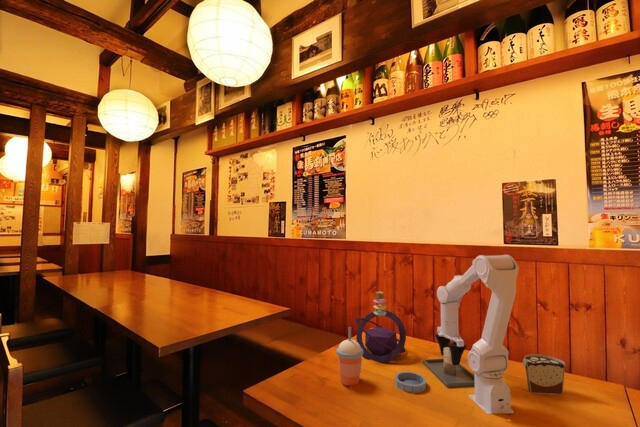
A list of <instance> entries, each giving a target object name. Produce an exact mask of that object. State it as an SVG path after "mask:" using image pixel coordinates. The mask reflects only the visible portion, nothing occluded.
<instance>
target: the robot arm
mask: <svg viewBox="0 0 640 427" xmlns="http://www.w3.org/2000/svg"><path fill="white" fill-rule="evenodd" d="M471 263H472V265H471V266H470V267H469V268H468V269H467V271H465V272H464V274H463V275H461V274H460V275H459V274H458V275H454V276H453V279H452V280H450V281H449V282H447V283H446V285H444V286H443V285H441V286H439V287H438V288H437V289H436V290H437V291H436V297H437V300H438V302H439V303H440V326H437V327H436V328H437V329H436V330H437V331H436V332H437V333H436V334H434V337H435V339H436V340H437V342H438V347H439V350H440V354H441V356H443V357H444V348H445V347H449V349H450V352H451V358H452V364H453V365H459V364H461V359H462V356H463V354H464V352H465V350H466V349H467V345H466V344H465V341H464V340H463V338H462V337H461V335H460V333H459V308H460V306H461V301H462V299H463V296H464V295H465V294H466V293H468V292H469V291H470V290H471V289H472V285H473V283H475V282H477V280H479V279H480V280H481V281H482V283H483V285H485V287H486V288H487V289H490V291H491V296H490V299H489V300H490V301H489V304H488V307H487V308H488V309H487V313H486V317H485V321H484V325H483V330H482V333H481V338H480V339H479V340H477V341H476V342H475V343H473V344H472V347H471V349H470V350H469V352H468V353H467V364H468V366H469V368H470V369H471V371H472V372H473V375H474V377H475V387H474V394H468V397H469V398H470V400H472V401H473V402H474V403H475V404H476V405H477V406H479V407H480V408H481V410H483V412H485V413H486V414H488V415H495V414H504V415H506V414H507V415H508V414H514V412H515V411H514V410H513V409H512V408H511V406H512V405H511V404H512V403H511V402H512V401H511V400H512V399H511V398H512V397H511V389H510V387H509V385H508V384H507V383H506V382H505V381H504V379H503V376H504V375H505V371H507V370H508V369H509V364H510V363H509V353H510V351H509V350H508V349H507V347H506V346H505V345H504V340H505V337H506V334H507V333H506V332H507V329H508V326H509V321H510V317H511V314H512V310H513V306H514V302H515V297H516V295H517V281H516V280H517V277H518V274H519V270H520V266H519V265H518V264H517V262H516V260H515V258H513V257H512V256H511V255H510V254H503V255H482V254H481V255H480V254H479V255H478V256H476V257H475V259H473V260H472V262H471ZM451 341H452V342H451Z"/></svg>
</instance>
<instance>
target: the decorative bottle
mask: <svg viewBox="0 0 640 427" xmlns="http://www.w3.org/2000/svg"><path fill="white" fill-rule="evenodd" d="M375 295H376V296H375V299H373V300H372V301H373V303H375V305H373V308H374V309H375V311H372V312H370V313H368V314H366V316H364V317H356V318H355V323H356V325H357V326H358V328H357V330H356V336H355V337H356V338H355V339H356V342H358V343H359V345H360V347H361V348H362V349H363V355H362V357H364V358H365V359H367V360H369V361H374V362H377V363H380V364H387V363H390V362H391V361H393V360H396V358H398V356H399V355H400V354H404V353H405V352H406V348H405V344H406V340H407V333H406V332H407V331H406V328H405V324H404V323H403V321H402V320H401V318H400V317H398V316H397V315H396V314H395V313H393V312H392V311H389V310H386V308H387V305H385V304H386V302H387V299H385V297H384V295H385V292H384V291H375ZM375 317H376V318H377V317H385V318H386V317H387V318H389V319H391V320H392V322H394V323H395V324H396V326H397V328H398V333H399V339H398V337H397V336H398V335H397V331H394V330H391V329H388V328H385V327H383V326H381V325H380V324H379V323H377V322H374V321H373V320H372V319H374V318H375ZM367 323H370V324H373V325H375V326H377V327H374V328H366V329H364V328H365V326H366V325H367ZM363 333H364V337H365V338H364V339H365V340H364V343H363Z"/></svg>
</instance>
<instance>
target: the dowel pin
mask: <svg viewBox="0 0 640 427" xmlns="http://www.w3.org/2000/svg"><path fill="white" fill-rule="evenodd" d="M443 359H444V373H445V374H448V375H456V365H453V364H452V358H451V352H450V349H449V347H445V348H444V356H443Z"/></svg>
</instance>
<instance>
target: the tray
mask: <svg viewBox="0 0 640 427" xmlns="http://www.w3.org/2000/svg"><path fill="white" fill-rule="evenodd" d="M422 364H423V365H424V366H425V368H427V369H428V371H430V372H431V373H432V374H433V375H434V376H435V378H437V379H438V380H439V381H440V382H441V384H443V385H444V387H446V389H449V388H467V387H473V388H475V377H474V373H472V372H471V371H470V370H469V369H467V368H466V367H464V366H463V364H461V363H460V364H459V365H456V375H448V374H445V373H444V358H427V359H426V358H425V359H422Z"/></svg>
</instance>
